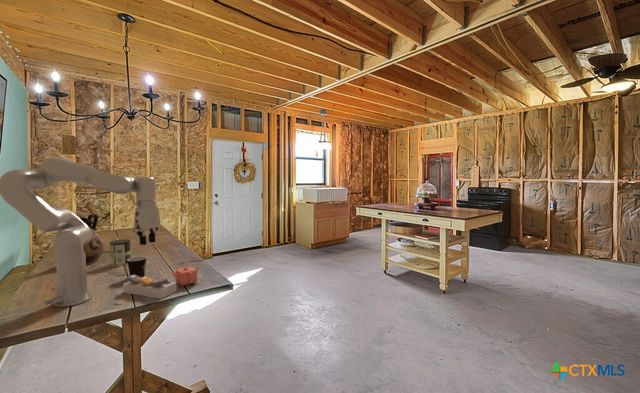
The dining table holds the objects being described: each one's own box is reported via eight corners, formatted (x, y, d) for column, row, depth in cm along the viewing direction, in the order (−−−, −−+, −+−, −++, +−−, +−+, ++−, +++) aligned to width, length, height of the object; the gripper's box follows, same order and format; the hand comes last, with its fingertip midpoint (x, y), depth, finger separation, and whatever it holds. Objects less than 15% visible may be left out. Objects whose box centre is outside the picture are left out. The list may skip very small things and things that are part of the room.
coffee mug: (137, 280, 145) (136, 261, 145) (123, 279, 147) (122, 260, 146) (155, 273, 157) (154, 255, 156) (141, 271, 158) (141, 254, 158)
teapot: (166, 284, 141) (165, 267, 140) (196, 276, 152) (196, 261, 151) (175, 290, 133) (174, 273, 132) (206, 282, 144) (205, 266, 143)
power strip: (161, 298, 124) (160, 288, 124) (115, 291, 132) (114, 281, 131) (176, 290, 133) (176, 281, 132) (132, 284, 140) (132, 275, 140)
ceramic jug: (91, 265, 169) (89, 216, 166) (66, 265, 169) (63, 216, 167) (112, 257, 186) (110, 212, 183) (89, 257, 186) (87, 212, 184)
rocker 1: (136, 284, 129) (136, 281, 129) (126, 280, 131) (126, 276, 130) (143, 281, 133) (144, 278, 133) (134, 277, 134) (134, 273, 134)
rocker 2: (148, 286, 127) (148, 282, 127) (137, 281, 129) (138, 278, 128) (155, 282, 131) (156, 279, 131) (145, 278, 132) (146, 275, 132)
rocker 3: (160, 285, 125) (160, 281, 125) (150, 286, 127) (149, 282, 127) (168, 281, 129) (167, 278, 129) (157, 283, 130) (157, 279, 130)
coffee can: (126, 260, 180) (125, 238, 179) (134, 263, 174) (133, 240, 173) (107, 264, 171) (106, 241, 170) (115, 267, 166) (114, 244, 165)
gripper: (136, 206, 119) (137, 248, 120) (167, 202, 135) (168, 240, 136) (122, 205, 121) (124, 247, 122) (155, 202, 137) (156, 239, 138)
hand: (147, 243), depth 129 cm, fingers open, 4 cm apart
